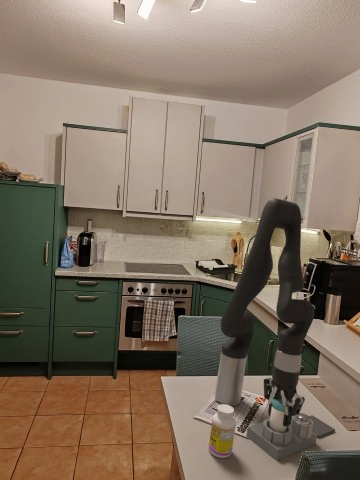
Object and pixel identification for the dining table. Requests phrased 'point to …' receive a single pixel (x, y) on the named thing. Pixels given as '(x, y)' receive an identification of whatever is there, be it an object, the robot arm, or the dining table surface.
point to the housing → (282, 438)
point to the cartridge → (277, 416)
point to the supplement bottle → (222, 432)
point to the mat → (321, 427)
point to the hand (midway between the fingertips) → (278, 420)
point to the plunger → (303, 418)
